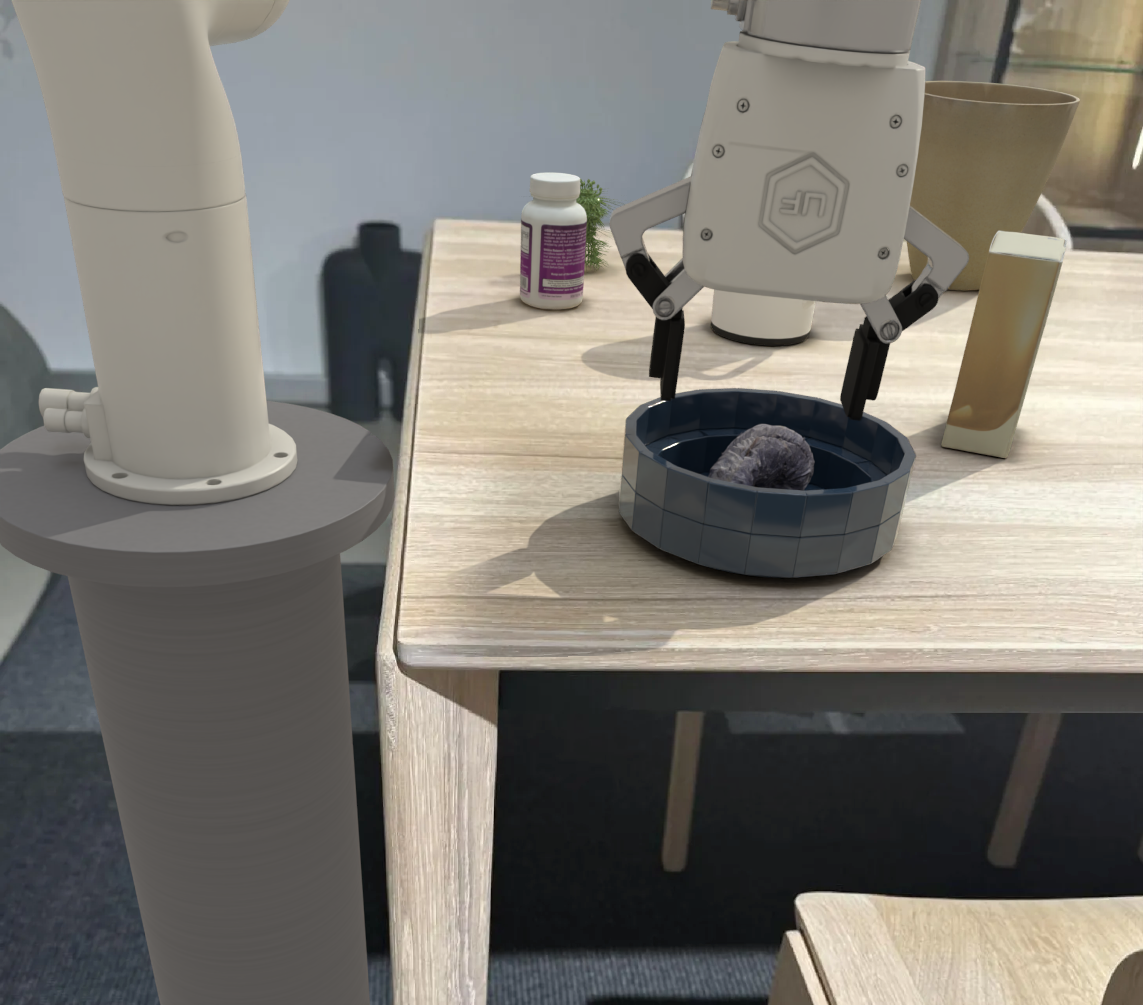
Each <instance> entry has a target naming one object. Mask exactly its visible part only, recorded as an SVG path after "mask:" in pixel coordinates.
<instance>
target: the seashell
mask: <svg viewBox="0 0 1143 1005" xmlns="http://www.w3.org/2000/svg"><path fill="white" fill-rule="evenodd" d="M813 471H814V459H813V454H812V453H811V450H810V447H809V445H808V443H807V442H806V441H805V438H802V436H801V435H799V434H798V433H796V432H795V431H793V430H791V429H789V428H787V427H784V426H771V425H768V424H760V425H756V426H754V427H753V428H751V429H748V430H746V431H745V432H744V433H743V434H742V432H741V433H740V434H739V435H738V436H737V437H736V439H735V440H733V441H732V442H731V444H730V445H729V446H728V447H727V449H726V450H725V451H724V452H723V453H722V456H721V457H720V458H719V459H718V461H717V462H716V463H715V464H714V465H713V467H712V468H711V469H710V474H709V476H708V477H710V478H712V479H717V480H722V481H727V482H732V483H738V484H743V485H748V486H753V487H758V488H773V489H787V490H801V491H804V489H805V488H806V486H807V485H808V483H809V482H810V480H811V477H812V476H813Z"/></svg>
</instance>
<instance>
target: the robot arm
mask: <svg viewBox="0 0 1143 1005" xmlns="http://www.w3.org/2000/svg"><path fill="white" fill-rule="evenodd" d="M11 3H12V6H13V9H14V11H15V14H16V18H17V21H18V23H19V25H20V28H21V31H22V33H23V34H22V35H23V37H24V39H25V42H26V44H27V45H26V46H27V48H28V51H29V54H30V57H31V60H32V63H33V66H34V69H35V73H36V76H37V80H38V85H39V88H40V91H41V96H42V99H43V103H44V107H45V108H44V109H45V112H46V115H47V120H48V125H49V129H50V135H51V140H52V145H53V150H54V154H55V160H56V164H57V165H56V166H57V170H58V177H59V182H60V187H61V193H62V196H63V200H64V207H65V212H66V218H67V222H68V228H69V233H70V239H71V246H72V250H73V255H74V262H75V266H76V272H77V278H78V284H79V289H80V295H81V300H82V305H83V312H84V316H85V321H86V327H87V333H88V339H89V344H90V349H91V355H92V360H93V361H92V362H93V366H94V367H93V368H94V372H95V378H96V382H97V386H94V387H93V388H91V390H90V392H85V391H82V392H81V391H75V390H74V389H66V388H65V389H64V388H51V387H45V388H42V389H41V390H40V392H39V395H38V409H39V413H40V415H41V417H42V419H43V426H45V429H46V430H47V431H48V432H62V433H70V432H78V433H84V435H85V437H87V438H91V443H90V444H89V446H88V447H87V449H86V451H85V452H84V464H85V468H86V473H87V477H88V478H89V479H90V481H91V482H92V483H93V484H94V485H96V486H97V487H98V488H100V489H101V490H103V491H105V492H107V493H109V494H112V495H114V496H116V497H120V498H123V499H127V500H131V501H135V502H142V503H148V504H158V505H202V504H214V503H220V502H226V501H232V500H237V499H241V498H245V497H249V496H252V495H255V494H258V493H261V492H264V491H266V490H268V489H270V488H272V487H274V486H276V485H278V484H280V483H281V482H283V481H284V480H285V479H287V478H288V477H289V476H290V475H291V474H292V472H293V471H294V470H295V468H296V465H297V461H298V460H297V451H296V444H295V442H294V440H293V439H292V437H290V436H289V435H288V434H287V433H286V432H285V431H283V430H281V429H280V428H278V427H276V426H274V425H271V424H269V423H268V413H267V403H266V400H267V393H266V384H265V372H264V364H263V363H264V362H263V354H262V343H261V342H262V341H261V332H260V324H259V322H260V321H259V312H258V302H257V301H258V300H257V293H256V292H257V291H256V290H257V289H256V282H255V272H254V270H255V269H254V262H253V261H254V260H253V253H252V252H253V251H252V242H251V241H252V239H251V230H250V229H251V228H250V219H249V210H248V200H247V193H246V184H245V174H244V173H245V172H244V166H243V158H242V157H243V156H242V150H241V144H240V140H239V133H238V129H237V126H236V121H235V118H234V115H233V111H232V108H231V104H230V101H229V98H228V96H227V92H226V89H225V86H224V84H223V82H222V79H221V77H220V74H219V71H218V68H217V65H216V63H215V59H214V57H213V53H212V50H211V47H215V46H222V45H229V44H236V43H240V42H244V41H247V40H250V39H253V38H256V37H257V36H259V35H261V34H262V33H264V32H266V31H268V30H269V29H270V28H271V27H272V26H273V25H274V24H275V23H276V22H277V21H278V20H279V19H280V18H281V16H282V15H283V13H284V12H285V10H286V9H287V7H288V5H289V3H290V0H11ZM921 3H922V0H710V10H715V11H723V12H726V15H729V16H734V20H735V22H739V25H738V27H739V29H740V31H739V34H738V40H731V41H726V42H723V44H722V47H721V49H720V50H721V51H720V53H719V56H718V59H717V61H716V65H715V68H714V71H713V75H712V78H711V82H710V85H709V90H708V95H707V101H706V105H705V109H704V113H703V116H702V120H701V124H700V128H699V132H698V138H697V143H696V147H695V152H694V158H693V162H692V168H691V173H690V176H688V177H686V178H683V179H681V180H678V181H677V182H674V183H671V184H669V185H667V186H665V187H662V188H660V189H658V190H656V191H653V192H651V193H648V194H646V195H643V196H641V197H640V198H637V199H634V200H631V201H629V202H628V203H624V204H625V205H624V204H622V205H620V206H618V207H615V209H613V210H612V212H611V213H610V216H609V222H608V223H609V229H610V233H612V234H611V235H612V238H613V239H614V243H615V245H616V248H617V252H618V253H619V256H620V258H621V261H622V264H623V267H624V270H625V273H626V276H627V278H628V280H629V281H630V282H631V283H632V285H633V286H634V287H635V289H636V290H637V291H638V293H639V294H640V295H641V297H642V298H643V299H644V300H645V302H646V303H647V304H648V305H649V307H650V308H651V310H652V313H653V315H654V316H655V318H654V326H653V334H652V343H651V349H650V358H649V365H648V366H649V368H648V378H654V379H659V380H660V381H659V392H660V393H659V394H660V396H659V397H661V400H663V401H671V399H675V394H676V393H677V385H678V379H679V372H680V366H681V357H682V351H683V345H684V344H683V343H684V338H685V328H686V320H685V319H686V318H685V310H684V309H683V308H684V307H685V306H686V305H687V304H688V303H690V301H691V300H692V299H693V298H695V296H696V295H697V294H698V293H699V292H701V291H702V289H704V288H707V289H711V290H713V291H714V290H720V291H727V292H735V293H743V294H752V295H761V296H771V297H780V298H790V299H799V300H809V301H816V302H818V303H819V302H822V303H830V304H831V303H832V304H843V305H860V307H861V309H862V311H863V312H864V314H865V317H864V319H863V323H860V324H859V326H858V327H856V328H855V330H854V333H853V337H852V343H851V347H850V350H849V355H848V360H847V363H846V369H845V373H844V378H843V382H842V386H841V392H840V397H839V400H840V404H842V406H843V409H844V411H845V414H846V416H847V417H849V418H850V420H857V421H861V419H862V415H863V412H865V407H866V402H867V401H876V400H877V398H878V395H879V391H880V387H881V383H882V379H883V375H884V371H885V366H886V363H887V358H888V355H889V349H890V346H891V344H892V343H894V342H896V341H898V340H899V339H900V337H901V336H902V333H903V331H905V330H906V329H908V328H909V327H910V326H912V325H913V324H915V323H916V322H917V321H919V320H920V319H921V318H923V317H924V316H925V315H927V314H928V313H930V312H931V311H932V310H934V309H935V308H936V307H937V305H938V303H939V299H940V298H941V297H942V295H943V294H944V292H946V291H948V290H949V289H948V288H949V286H950V285H951V284H952V283H953V281H954V280H955V279H956V278H957V276H958V275H959V274H960V273H961V271H962V270H963V269H964V268H965V266H966V265H967V263H968V261H969V254H968V252H967V251H966V250H965V249H964V248H963V247H962V245H961V244H959V243H958V242H957V241H955V240H954V239H953V238H952V237H950V236H949V235H948V234H946V233H945V232H944V231H942V230H941V229H940V228H939V227H937V226H936V225H935V224H933V223H932V222H931V221H930V220H928V219H927V218H926V217H924V216H923V215H922V214H920V213H919V212H918V211H917V210H915V209H914V208H913V207H911V206H910V201H911V195H912V189H913V183H914V177H915V170H916V164H917V157H918V150H919V142H920V135H921V127H922V117H923V105H924V93H925V81H926V67H925V66H923V65H921V64H919V63H916V62H913V61H910V60H909V58H910V55H911V54H910V53H911V49H912V44H913V40H914V36H915V31H916V27H917V22H918V17H919V12H920V8H921ZM682 215H684V217H683V226H682V258H680V260H679V261H678V262H677V263H676V264H675V265H673V267H672V268H670V269H669V270H668V271H667V272H666V274H664V273H663V271H662V270H661V269H660V267H659V266H658V265H657V263H656V262H655V261H654V259H653V258H652V257H651V255H650V254H649V253H648V249H647V247H646V244H645V241H644V238H643V235H644V234H645V232H647V230H649V229H651V228H654V227H656V226H658V225H661V224H663V223H665V222H667V221H670V220H672V219H675V218H677V217H680V216H682ZM904 240H905V242H906V243H907V242H909V243H910V244H911V245H913V246H914V247H915V248H917V249H918V250H919V251H921V252H922V253H923V254H925V255H926V256H927V257H928V263H927V265H926V267H925V268H924V269H923V271H922V273H921V275H920V276H919V277H918V278H917V279H916V280H914V279H913V281H910V283H909V284H907V285H906V286H905V287H904V288H902V289H901V290H900V291H898V292H896V294H894V295H893V296H892V297H890V298H888V297H887V294H888V293H889V292H890V291H891V288H892V287H893V284H894V282H895V279H896V275H897V273H898V272H897V271H898V268H899V264H900V260H901V255H902V250H903V245H904Z"/></svg>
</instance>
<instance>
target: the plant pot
mask: <svg viewBox="0 0 1143 1005" xmlns="http://www.w3.org/2000/svg"><path fill="white" fill-rule="evenodd" d="M1080 102H1081V99H1080V98H1079V97H1078V96H1076V95H1073V94H1069V93H1066V92H1062V91H1057V90H1053V89H1047V88H1041V87H1040V88H1039V87H1034V86H1026V85H1017V84H1007V83H997V82H996V83H994V82H981V81H979V82H978V81H965V80H964V81H963V80H962V81H961V80H925V93H924V105H923V117H922V127H921V135H920V142H919V150H918V157H917V164H916V170H915V177H914V183H913V189H912V195H911V201H910V206H911V207H913V208H914V209H915V210H917V211H918V212H919V213H920V214H922V215H923V216H924V217H926V218H927V219H928V220H930V221H931V222H932V223H933V224H935V225H936V226H937V227H939V228H940V229H941V230H942V231H944V232H945V233H946V234H948V235H949V236H950V237H952V238H953V239H954V240H955V241H957V242H958V243H959V244H961V245H962V247H963V248H964V249H965V250H966V251H967V252H968V254H969V261H968V263H967V265H966V266H965V268H964V269H963V270H962V271H961V273H960V274H959V275H958V276H957V278H956V279H955V280H954V281H953V283H952V284H951V285H950V286H949V288H948V289H947V290H950V291H979V290H980V286H981V281H982V277H983V273H984V269H985V265H986V261H987V257H988V253H989V249H990V246H991V243H992V240H993V238H994V236H995V234H996V233H997V232H998V231H1005V232H1018V233H1023V231H1024V229H1025V227H1026V225H1027V223H1028V222H1029V219H1030V217H1031V215H1032V213H1033V212H1034V210H1035V207H1036V205H1037V203H1038V202H1039V199H1040V198H1041V195H1042V193H1043V191H1044V189H1045V187H1046V185H1047V182H1048V180H1049V179H1050V176H1051V174H1052V171H1053V170H1054V167H1055V165H1056V164H1057V161H1058V157H1059V156H1060V155H1059V154H1060V153H1061V151H1062V148H1063V145H1064V143H1065V141H1066V138H1067V135H1068V133H1069V130H1070V128H1071V126H1072V122H1073V120H1074V117H1075V115H1076V112H1077V110H1078V107H1079V104H1080ZM906 249H907V256H908V262H909V270H910V274H911V278H912V279H913V281H914V280H916V279H917V278H918V277H919V276H920V275H921V273H922V271H923V269H924V268H925V267H926V265H927V263H928V257H927V256H926V255H925V254H923V253H922V252H921V251H919V250H918V249H917V248H915V247H914V246H913V245H911V244H910V243H909V242H907V241H906Z"/></svg>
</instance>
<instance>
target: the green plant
mask: <svg viewBox="0 0 1143 1005" xmlns="http://www.w3.org/2000/svg"><path fill="white" fill-rule="evenodd" d="M594 185H596V186H595V187H593V186H594ZM594 189H595V190H594ZM606 189H609V187H608V188H606ZM603 190H604V188H602V187H600V184H599V183H598V184H596V181H595V180H592V181H591V179H590V178H587V180H586V181H585V179H584V180H583V179H582V178H580V194H579V197H578V198H577V199H576V203H578V204H580V205H581V206H582V207H583V208H584V210H585V212H586V215H587V226H586V247H585V269H586V270H585V271H586V272H588V269H587V268H588V267H589V268H590V270H592V267H593V271H594V272H595V271H599V268H600V267H601V268H602V269H604V267H607V268H608V266H606V265H607V260H605V259H604V258H602V257H603V256H606V254H605V253H608V250H609V251H610V249H608V248H612V245H610V244H609V243H608V242H607V241H604V240H600V239H601V238H600V237H599V238H598V236H599V234H598V233H601V236H602V234H603V235H605V236H606V237H608V235H606V234H605V233H608V234H611V235H612V232H610V230H609V229H607V230H606V228H605V224H604V223H603V221H602V219H603V218H604V217H607V215H608V216H609V217H610V216H611V213H612V212H611V211H609V210H612V211H613V210H614V209H613V208H615V209H616V207H615V206H618V207H620V205H621V202H618V203H616V200H617V199H615V198H611V199H609V198H607V197H605V195H601V194H603V193H606V192H607V190H605V191H603ZM622 196H623V197H624V196H625V195H622ZM521 197H523V198H524V197H532V198H533V196H531V195H530V196H521ZM624 201H627V202H628V200H626V199H625V200H624ZM608 203H610V204H613V205H615V206H612V205H610V204H608ZM619 204H620V205H619ZM625 204H626V203H623V205H625ZM605 207H606V208H605ZM611 207H612V208H611ZM609 213H610V215H609ZM608 231H609V232H608ZM597 232H598V233H597ZM604 232H605V233H604ZM610 239H612V241H613V240H614V238H613V237H612V238H611V237H610ZM614 241H615V240H614ZM603 252H604V253H603ZM602 265H603V266H604V267H603V266H602ZM595 268H596V270H595Z"/></svg>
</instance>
